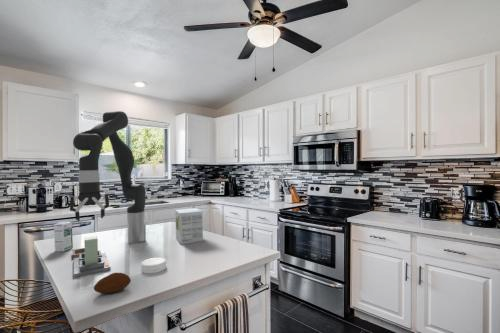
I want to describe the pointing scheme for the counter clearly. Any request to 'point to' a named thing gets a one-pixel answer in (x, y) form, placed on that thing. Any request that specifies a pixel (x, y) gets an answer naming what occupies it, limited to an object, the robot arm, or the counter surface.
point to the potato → (112, 283)
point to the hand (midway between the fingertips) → (90, 219)
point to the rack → (90, 265)
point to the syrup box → (63, 236)
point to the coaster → (153, 265)
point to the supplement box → (189, 225)
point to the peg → (91, 250)
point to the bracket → (77, 252)
